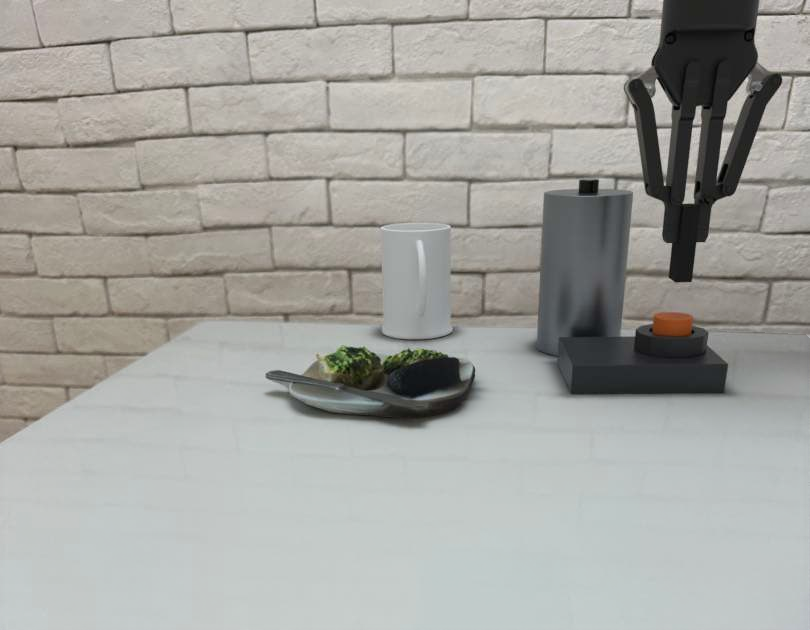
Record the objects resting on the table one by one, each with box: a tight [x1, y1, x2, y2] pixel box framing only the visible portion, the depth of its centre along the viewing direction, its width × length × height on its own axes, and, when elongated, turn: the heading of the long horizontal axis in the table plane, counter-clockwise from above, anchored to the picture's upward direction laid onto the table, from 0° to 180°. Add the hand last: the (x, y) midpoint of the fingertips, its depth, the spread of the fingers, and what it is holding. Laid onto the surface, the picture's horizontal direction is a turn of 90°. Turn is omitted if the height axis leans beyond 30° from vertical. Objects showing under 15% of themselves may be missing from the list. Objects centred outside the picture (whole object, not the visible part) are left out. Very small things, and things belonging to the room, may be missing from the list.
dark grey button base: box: [556, 323, 729, 395], centre depth 83 cm, size 14×11×4 cm
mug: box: [380, 222, 453, 340], centre depth 99 cm, size 12×8×12 cm
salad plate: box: [265, 345, 476, 419], centre depth 80 cm, size 19×18×5 cm
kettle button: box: [652, 311, 694, 336], centre depth 82 cm, size 4×4×2 cm
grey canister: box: [536, 178, 634, 357], centre depth 91 cm, size 9×9×17 cm
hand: (680, 279), depth 80 cm, fingers closed
